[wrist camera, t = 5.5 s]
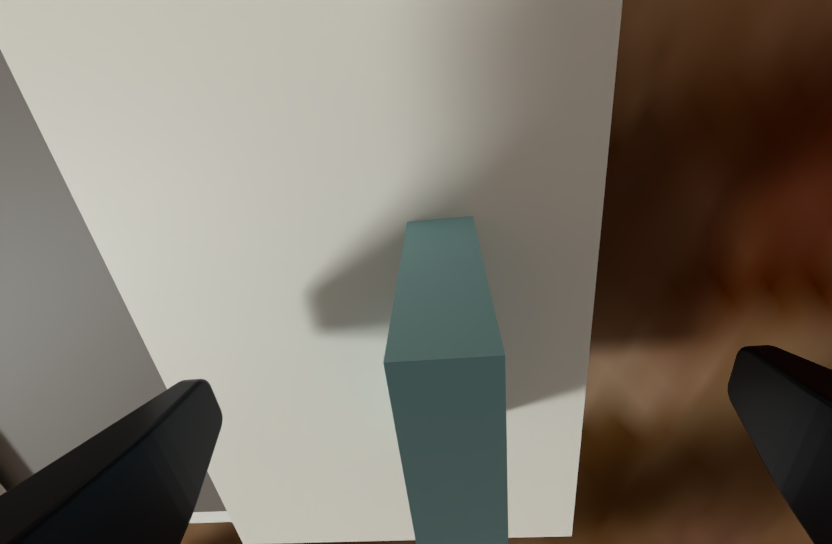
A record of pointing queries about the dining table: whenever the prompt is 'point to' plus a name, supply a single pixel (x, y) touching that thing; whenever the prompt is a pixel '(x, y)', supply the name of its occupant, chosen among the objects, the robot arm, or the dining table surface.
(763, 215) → the dining table surface
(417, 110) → the near flap
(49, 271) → the carton
